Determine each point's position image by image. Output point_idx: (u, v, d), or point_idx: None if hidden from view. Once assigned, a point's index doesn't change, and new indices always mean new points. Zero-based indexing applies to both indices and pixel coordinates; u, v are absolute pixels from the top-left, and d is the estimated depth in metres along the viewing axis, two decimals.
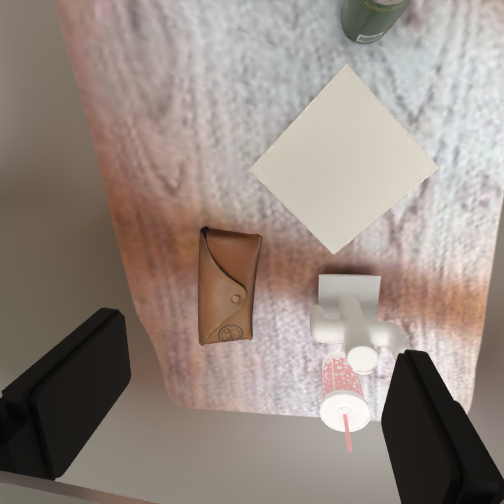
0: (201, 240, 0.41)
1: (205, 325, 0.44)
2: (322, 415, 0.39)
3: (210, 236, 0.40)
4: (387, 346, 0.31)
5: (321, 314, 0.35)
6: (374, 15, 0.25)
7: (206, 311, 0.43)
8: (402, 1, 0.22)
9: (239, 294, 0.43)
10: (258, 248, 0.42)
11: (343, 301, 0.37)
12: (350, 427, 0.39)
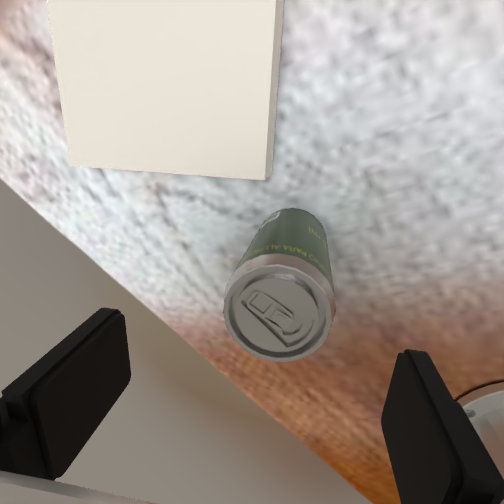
0: None
1: None
2: None
3: None
4: None
5: None
6: (261, 242, 0.17)
7: None
8: (232, 276, 0.15)
9: None
10: None
11: None
12: None
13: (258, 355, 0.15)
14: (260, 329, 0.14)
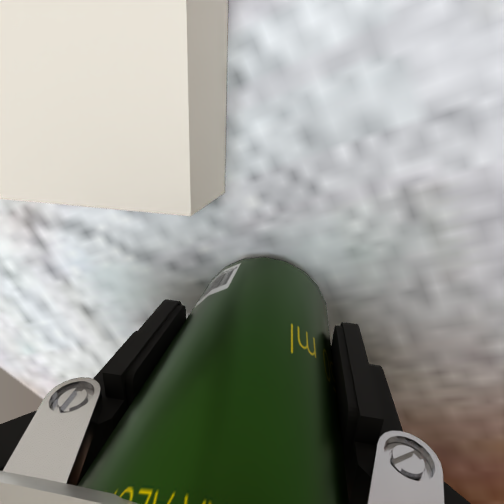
0: None
1: None
2: None
3: None
4: None
5: None
6: (142, 426, 0.06)
7: None
8: None
9: None
10: None
11: None
12: None
13: None
14: None
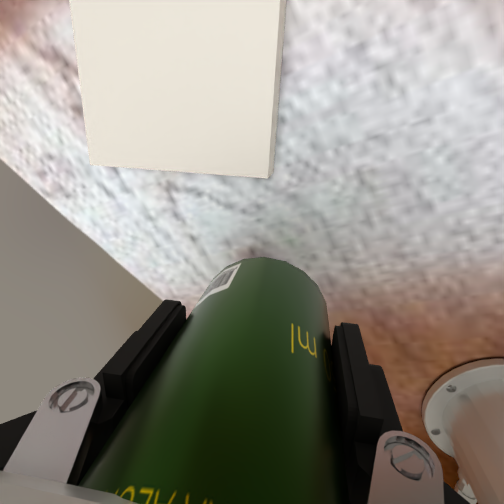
0: None
1: None
2: None
3: None
4: None
5: None
6: (143, 426, 0.06)
7: None
8: None
9: None
10: None
11: None
12: None
13: None
14: None
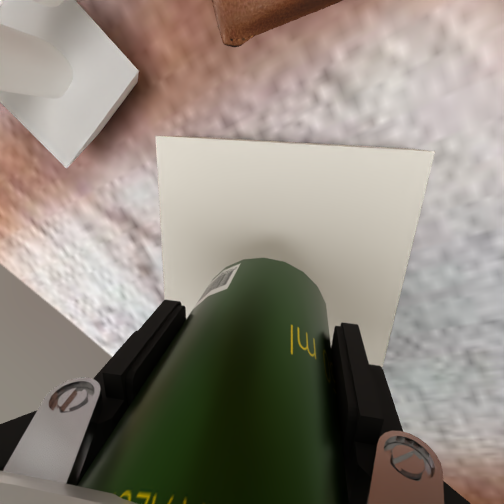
0: None
1: None
2: None
3: None
4: None
5: None
6: (141, 428, 0.06)
7: None
8: None
9: None
10: (216, 10, 0.17)
11: (44, 68, 0.15)
12: None
13: None
14: None
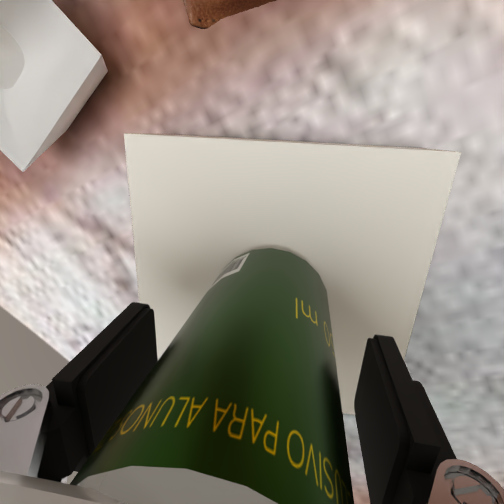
0: None
1: None
2: None
3: None
4: None
5: None
6: (175, 363, 0.07)
7: None
8: None
9: None
10: None
11: None
12: None
13: None
14: None
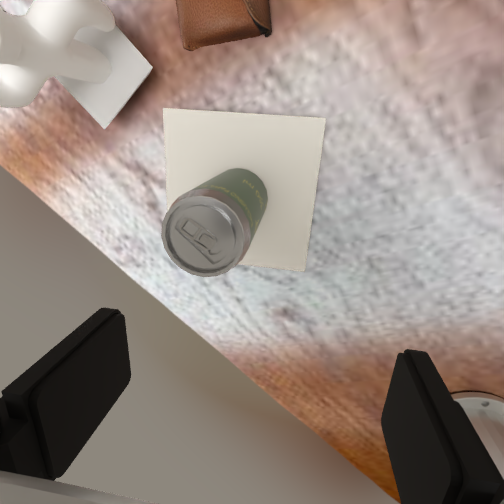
0: (261, 11, 0.25)
1: None
2: None
3: (247, 24, 0.25)
4: None
5: (92, 25, 0.21)
6: (197, 186, 0.20)
7: None
8: (169, 209, 0.19)
9: None
10: (180, 27, 0.28)
11: (97, 65, 0.25)
12: None
13: (191, 272, 0.19)
14: (190, 250, 0.18)
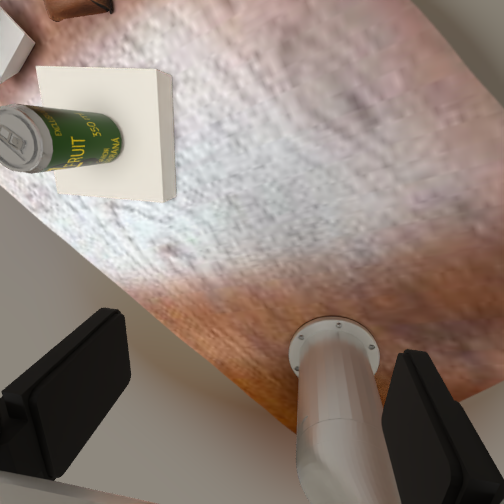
0: None
1: None
2: None
3: (85, 0, 0.33)
4: None
5: None
6: None
7: None
8: None
9: None
10: None
11: None
12: None
13: (11, 168, 0.26)
14: (7, 150, 0.25)
